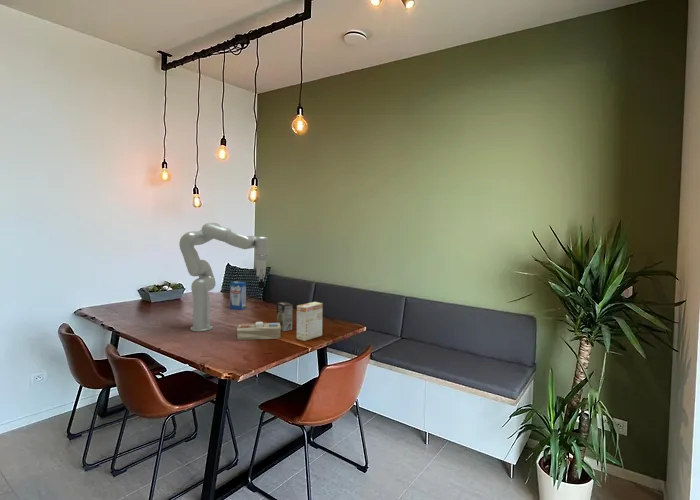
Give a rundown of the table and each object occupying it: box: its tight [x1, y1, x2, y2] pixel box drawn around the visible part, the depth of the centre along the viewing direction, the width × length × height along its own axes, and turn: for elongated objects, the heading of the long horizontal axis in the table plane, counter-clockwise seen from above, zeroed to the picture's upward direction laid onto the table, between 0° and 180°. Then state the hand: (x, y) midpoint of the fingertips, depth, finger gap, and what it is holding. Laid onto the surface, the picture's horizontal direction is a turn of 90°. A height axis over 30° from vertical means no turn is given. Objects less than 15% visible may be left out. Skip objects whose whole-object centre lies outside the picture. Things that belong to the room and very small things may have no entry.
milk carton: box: [229, 281, 247, 311], centre depth 303 cm, size 10×6×20 cm, turn 73°
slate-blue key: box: [269, 322, 277, 327], centre depth 236 cm, size 4×4×4 cm
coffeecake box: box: [296, 301, 324, 342], centre depth 235 cm, size 15×7×20 cm, turn 141°
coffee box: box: [276, 301, 293, 332], centre depth 251 cm, size 9×6×16 cm
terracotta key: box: [241, 323, 250, 328], centre depth 233 cm, size 4×4×4 cm
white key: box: [255, 321, 264, 327], centre depth 235 cm, size 4×4×4 cm
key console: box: [236, 322, 282, 341], centre depth 235 cm, size 12×24×6 cm, turn 102°
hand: (261, 287), depth 241 cm, fingers closed
